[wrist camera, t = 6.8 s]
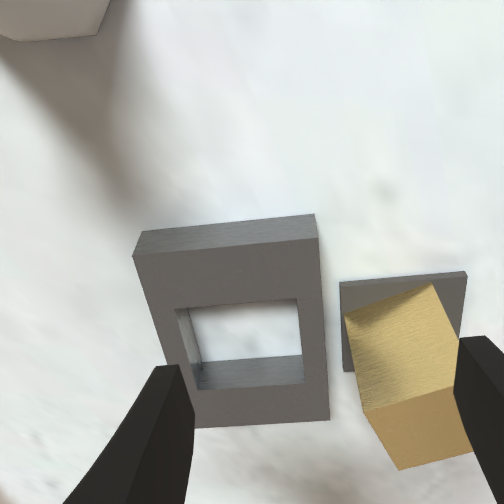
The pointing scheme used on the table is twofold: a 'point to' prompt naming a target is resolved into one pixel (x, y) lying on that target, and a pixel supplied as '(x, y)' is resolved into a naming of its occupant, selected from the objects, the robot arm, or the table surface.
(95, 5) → the flask
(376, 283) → the flat gray plate
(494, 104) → the table surface
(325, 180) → the table surface
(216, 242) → the gray rectangular frame
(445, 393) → the block
